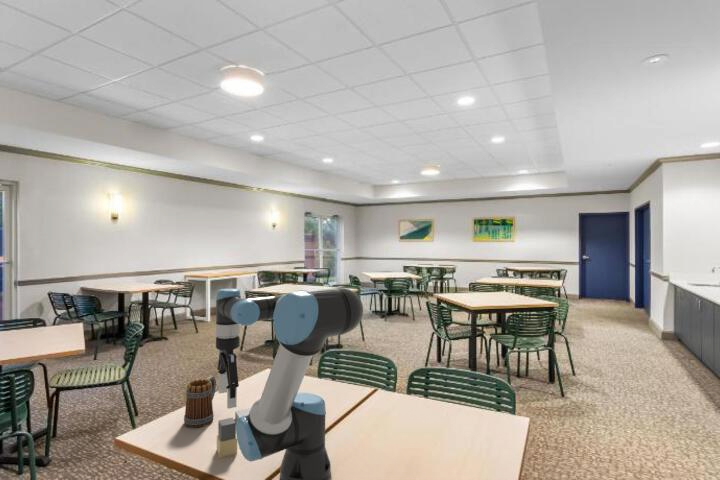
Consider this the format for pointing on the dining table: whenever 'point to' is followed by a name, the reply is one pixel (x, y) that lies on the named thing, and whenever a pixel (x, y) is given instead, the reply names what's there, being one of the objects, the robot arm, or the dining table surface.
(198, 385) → the mug
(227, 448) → the plug
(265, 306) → the robot arm
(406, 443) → the dining table surface
